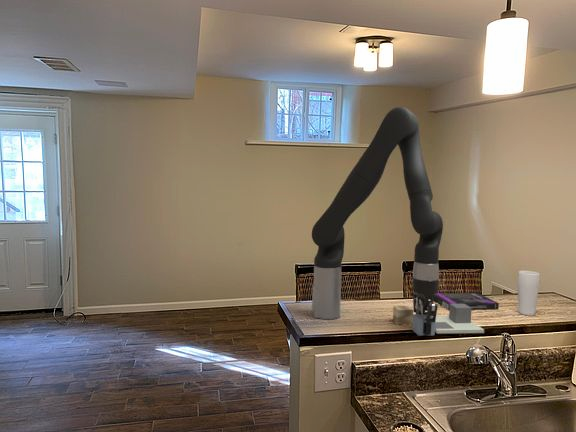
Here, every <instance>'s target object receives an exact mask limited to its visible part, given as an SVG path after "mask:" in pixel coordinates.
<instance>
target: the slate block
mask: <svg viewBox="0 0 576 432" xmlns="http://www.w3.org/2000/svg"><path fill="white" fill-rule="evenodd" d="M426 316H427V315H426ZM423 323H424V321H423V315H422V314H416V313H413V325H412V329H411V330H412V331H413V333H415V334H416V335H417V336H421V337H422V336H426V335H424V334H423ZM435 333H436V332H435V323H431V334H430V335H429V336H435Z"/></svg>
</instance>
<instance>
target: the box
mask: <svg viewBox="0 0 576 432" xmlns="http://www.w3.org/2000/svg"><path fill="white" fill-rule="evenodd" d="M434 302H435V304H437V303H438V304H437V305H439V304H440V305H439V306H441V307H442V306H443V307H442V308H444V309H445V308H446V310H447V311H449V310H450V304H466V305H467V306H469V307H471V308H472V311H486V310H487V311H491V310H493V311H496V310H498V311H499V307H500V306H499V304H500V303H499V302H498V301H495V300H493V299H491V298H490V297H487V296H485V295H483V294H481V293H479V292H458V293H457V292H454V293H453V292H445V293H444V292H438V293H437V294H434V295H433V303H434Z"/></svg>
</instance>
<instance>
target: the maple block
mask: <svg viewBox="0 0 576 432" xmlns="http://www.w3.org/2000/svg"><path fill="white" fill-rule="evenodd" d="M392 308H393V310H392V321H393V320H394V321H395V322H396V323H397V324H406V325H405V326H411V325H410V324H413V314H414V308H412V307H410V306H409V305H393V307H392ZM394 321H393V322H394ZM395 322H394V323H395ZM396 323H395V324H396ZM397 324H396V325H397Z"/></svg>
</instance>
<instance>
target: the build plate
mask: <svg viewBox="0 0 576 432" xmlns="http://www.w3.org/2000/svg"><path fill="white" fill-rule="evenodd" d="M448 311H449V313H448V315H439V316H437V315H436V321H435V333H436V334H485V329H484V328H482V327H481V326H479V325H477V324H476V323H475V322H473V321H472V311H473V310H472V308H471V307H469V306H467V305H466V304H450V310H448ZM432 317H433V316H432Z"/></svg>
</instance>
